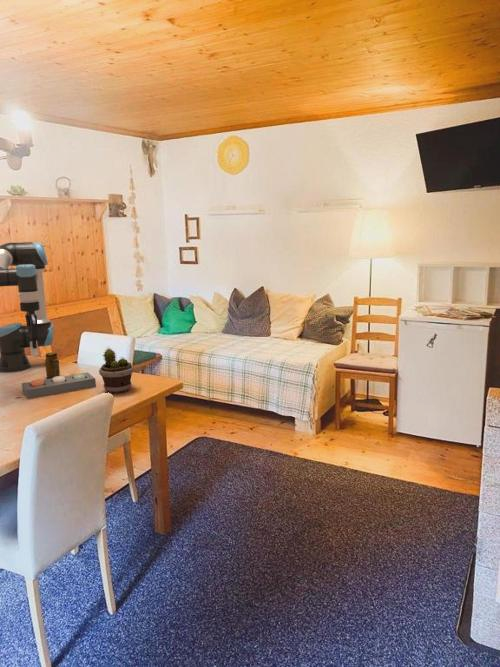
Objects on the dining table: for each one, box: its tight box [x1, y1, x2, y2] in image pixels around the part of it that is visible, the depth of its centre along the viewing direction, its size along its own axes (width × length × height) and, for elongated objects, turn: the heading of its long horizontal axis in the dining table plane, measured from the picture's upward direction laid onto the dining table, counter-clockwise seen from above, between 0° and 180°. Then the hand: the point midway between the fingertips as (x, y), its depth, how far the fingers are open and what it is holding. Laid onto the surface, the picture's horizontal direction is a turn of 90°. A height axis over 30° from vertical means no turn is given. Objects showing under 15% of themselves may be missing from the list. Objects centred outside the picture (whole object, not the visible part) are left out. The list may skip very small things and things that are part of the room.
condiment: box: [43, 352, 61, 379], centre depth 239 cm, size 7×8×12 cm
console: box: [21, 372, 97, 400], centre depth 222 cm, size 12×29×4 cm, turn 124°
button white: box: [53, 375, 65, 383], centre depth 221 cm, size 5×5×4 cm
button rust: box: [30, 379, 44, 387], centre depth 216 cm, size 5×5×4 cm
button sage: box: [73, 373, 85, 380], centre depth 226 cm, size 5×5×4 cm
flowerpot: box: [98, 347, 135, 394], centre depth 218 cm, size 14×15×20 cm
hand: (34, 355), depth 214 cm, fingers closed
